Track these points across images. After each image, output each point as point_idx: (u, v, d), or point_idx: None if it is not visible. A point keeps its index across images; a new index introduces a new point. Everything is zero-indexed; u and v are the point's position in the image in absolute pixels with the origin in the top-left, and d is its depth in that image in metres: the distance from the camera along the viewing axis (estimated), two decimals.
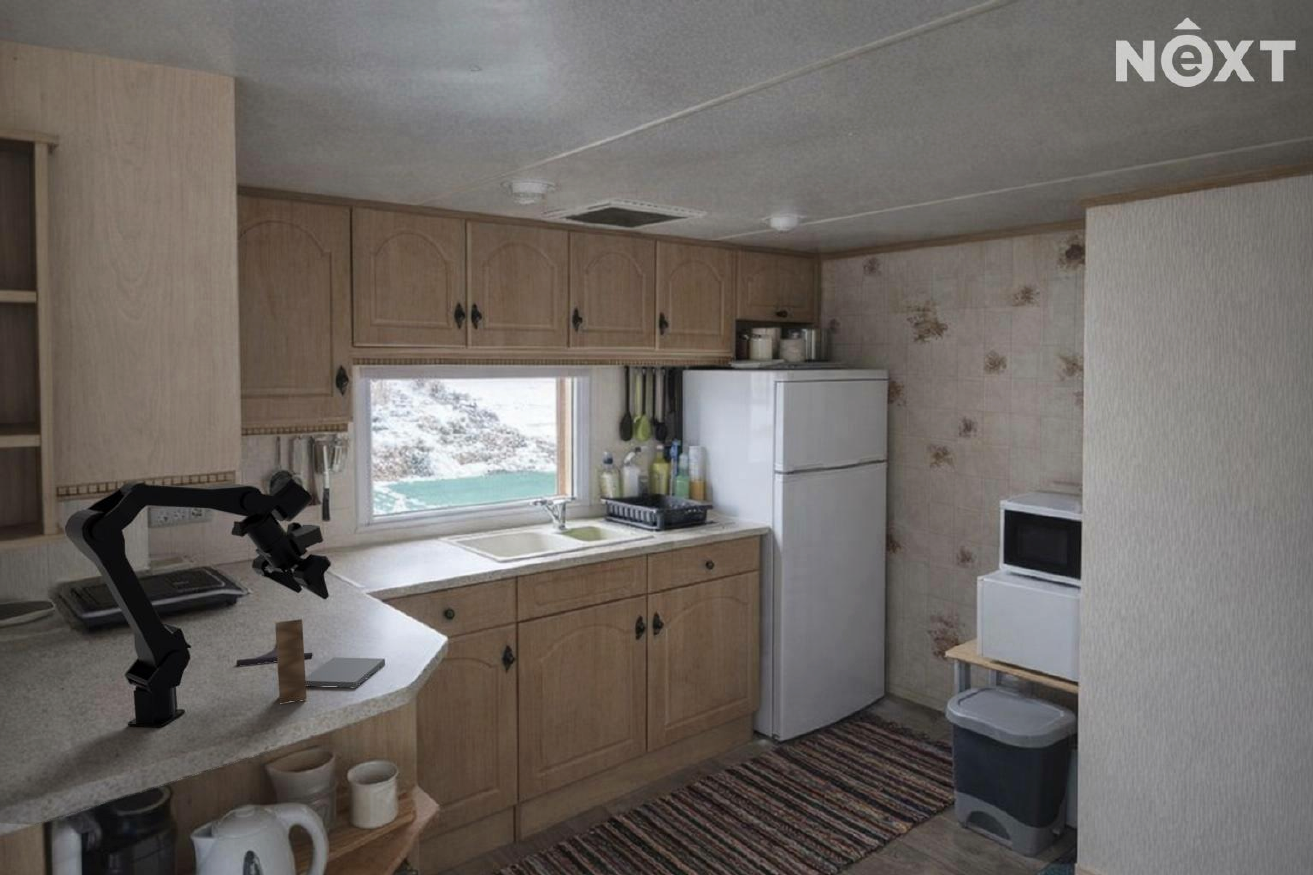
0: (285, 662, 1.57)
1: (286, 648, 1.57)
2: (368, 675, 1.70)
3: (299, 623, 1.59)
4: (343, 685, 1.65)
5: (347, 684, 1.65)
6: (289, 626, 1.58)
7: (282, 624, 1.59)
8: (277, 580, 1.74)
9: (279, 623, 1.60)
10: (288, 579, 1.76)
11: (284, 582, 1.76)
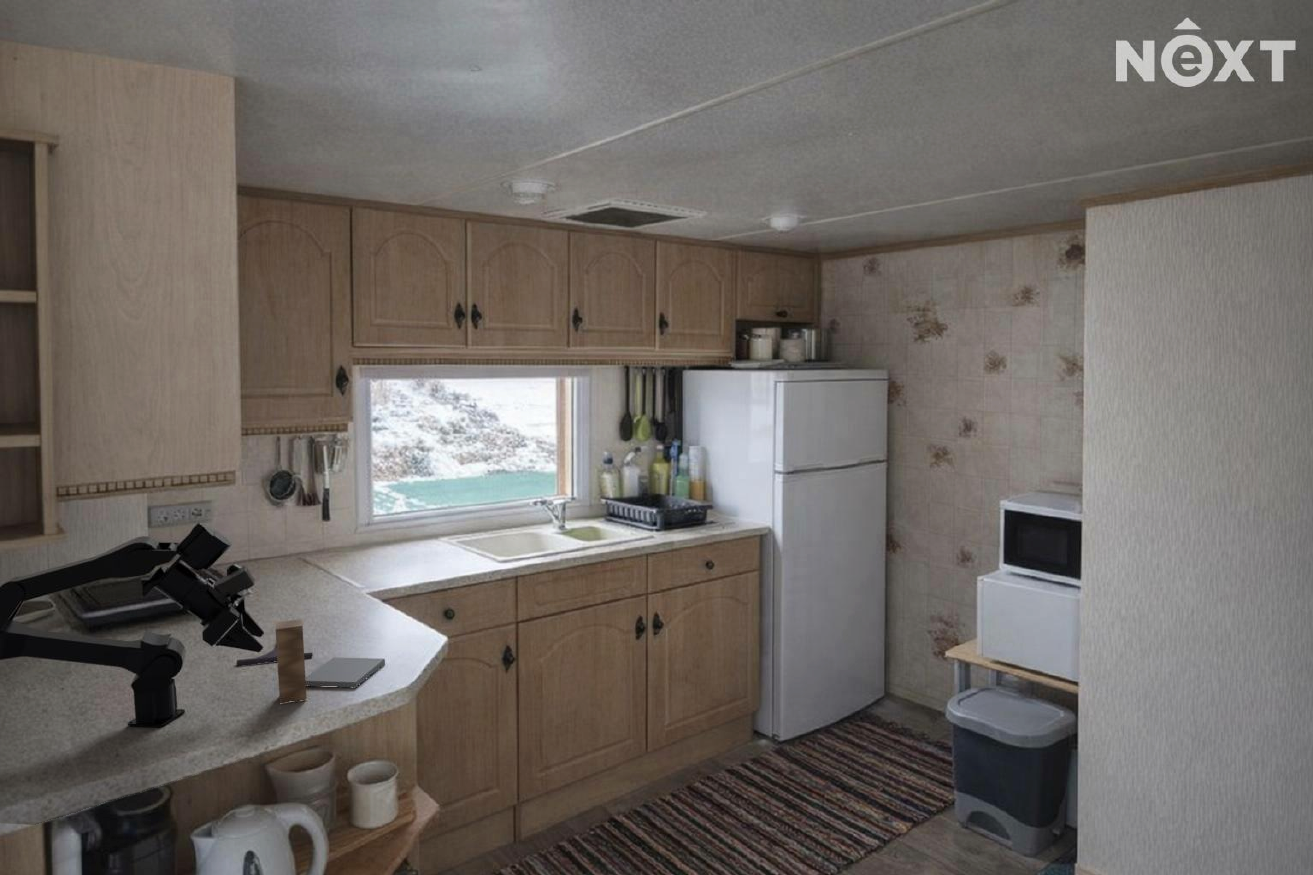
0: (285, 662, 1.57)
1: (286, 648, 1.57)
2: (368, 675, 1.70)
3: (299, 623, 1.59)
4: (343, 685, 1.65)
5: (347, 684, 1.65)
6: (289, 626, 1.58)
7: (282, 624, 1.59)
8: None
9: (279, 623, 1.60)
10: (245, 624, 1.61)
11: None
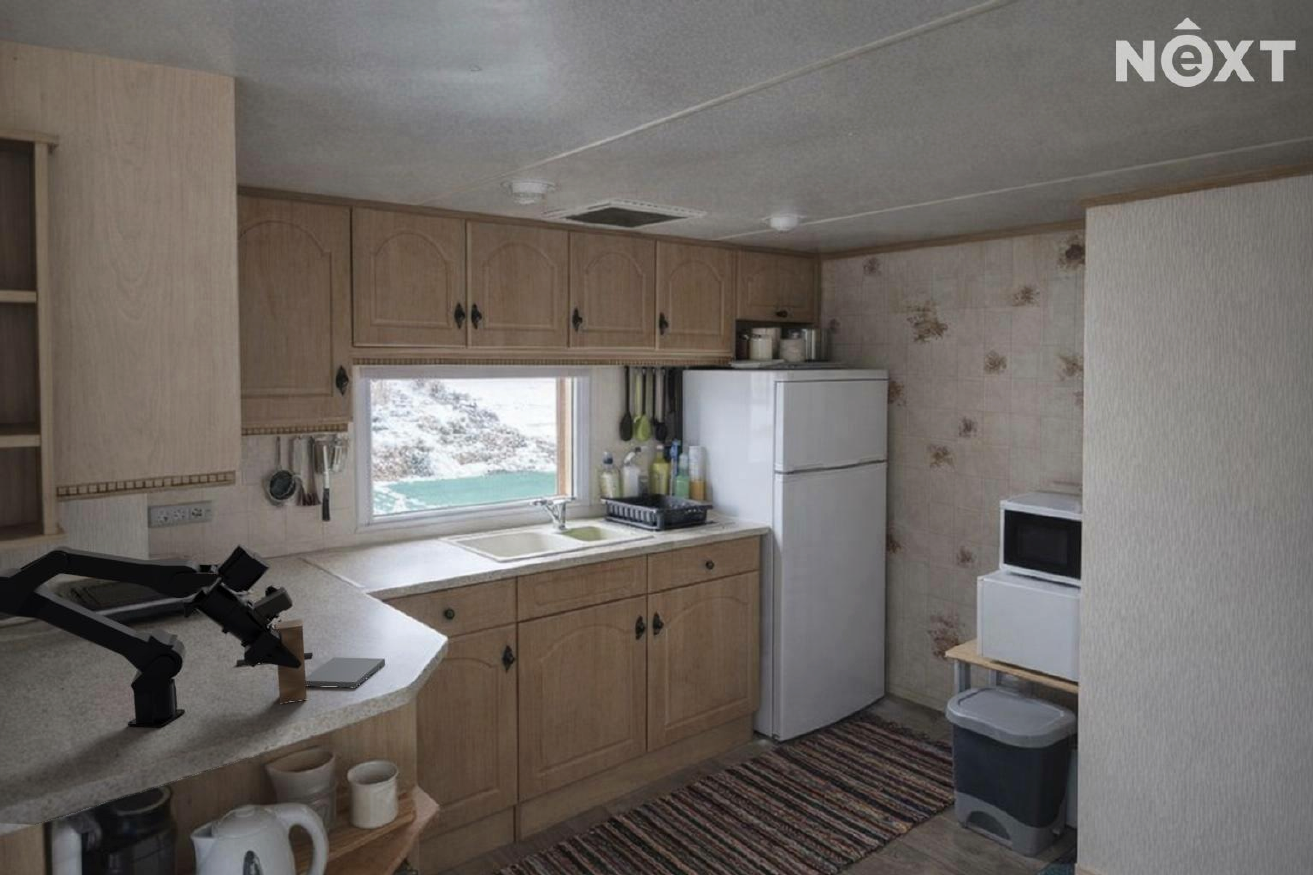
0: None
1: None
2: (368, 675, 1.70)
3: (299, 623, 1.59)
4: (343, 685, 1.65)
5: (347, 684, 1.65)
6: (289, 625, 1.58)
7: (282, 624, 1.59)
8: None
9: (279, 623, 1.60)
10: None
11: None
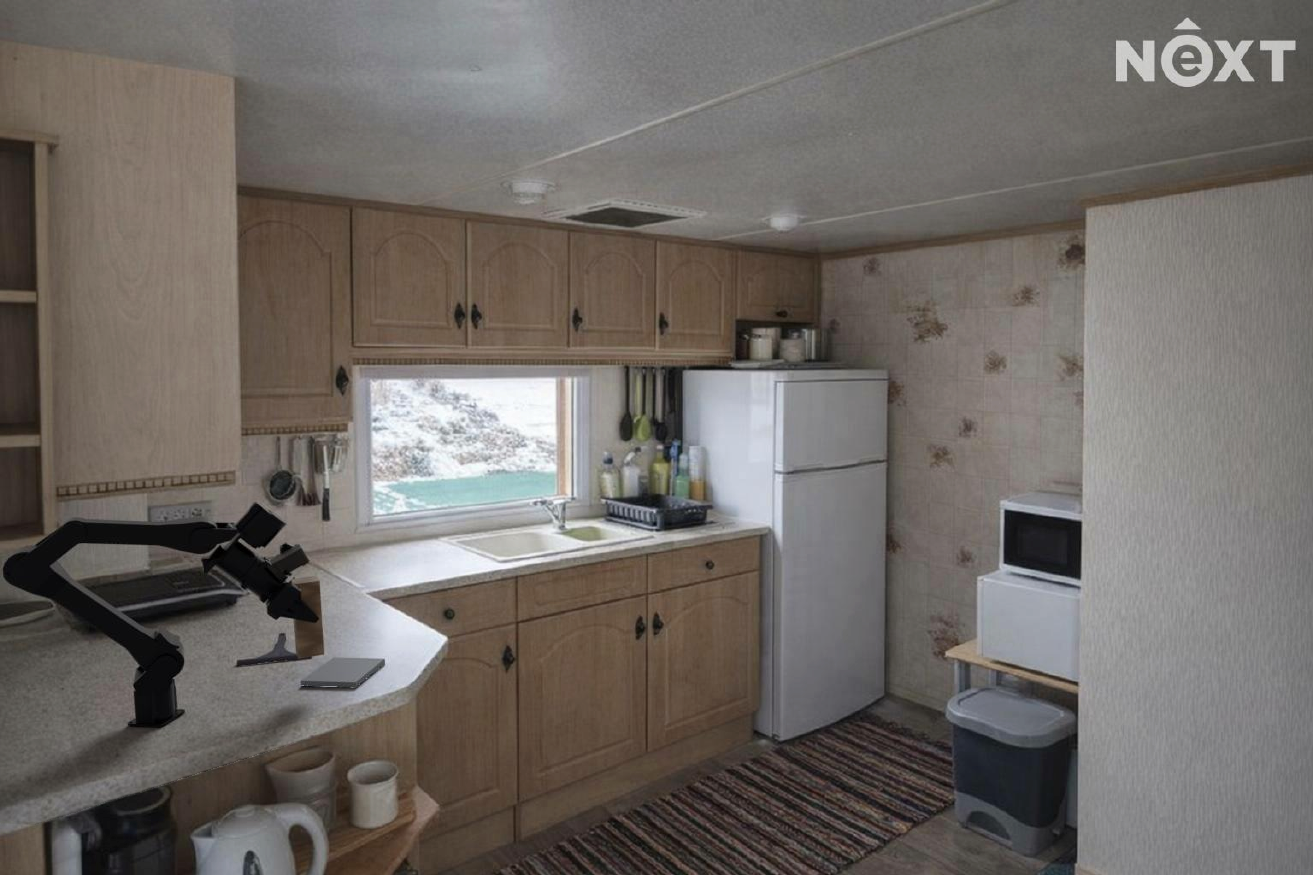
0: None
1: None
2: (368, 675, 1.70)
3: (315, 579, 1.62)
4: (343, 685, 1.65)
5: (347, 684, 1.65)
6: (306, 581, 1.60)
7: (298, 580, 1.61)
8: None
9: (295, 579, 1.62)
10: None
11: None
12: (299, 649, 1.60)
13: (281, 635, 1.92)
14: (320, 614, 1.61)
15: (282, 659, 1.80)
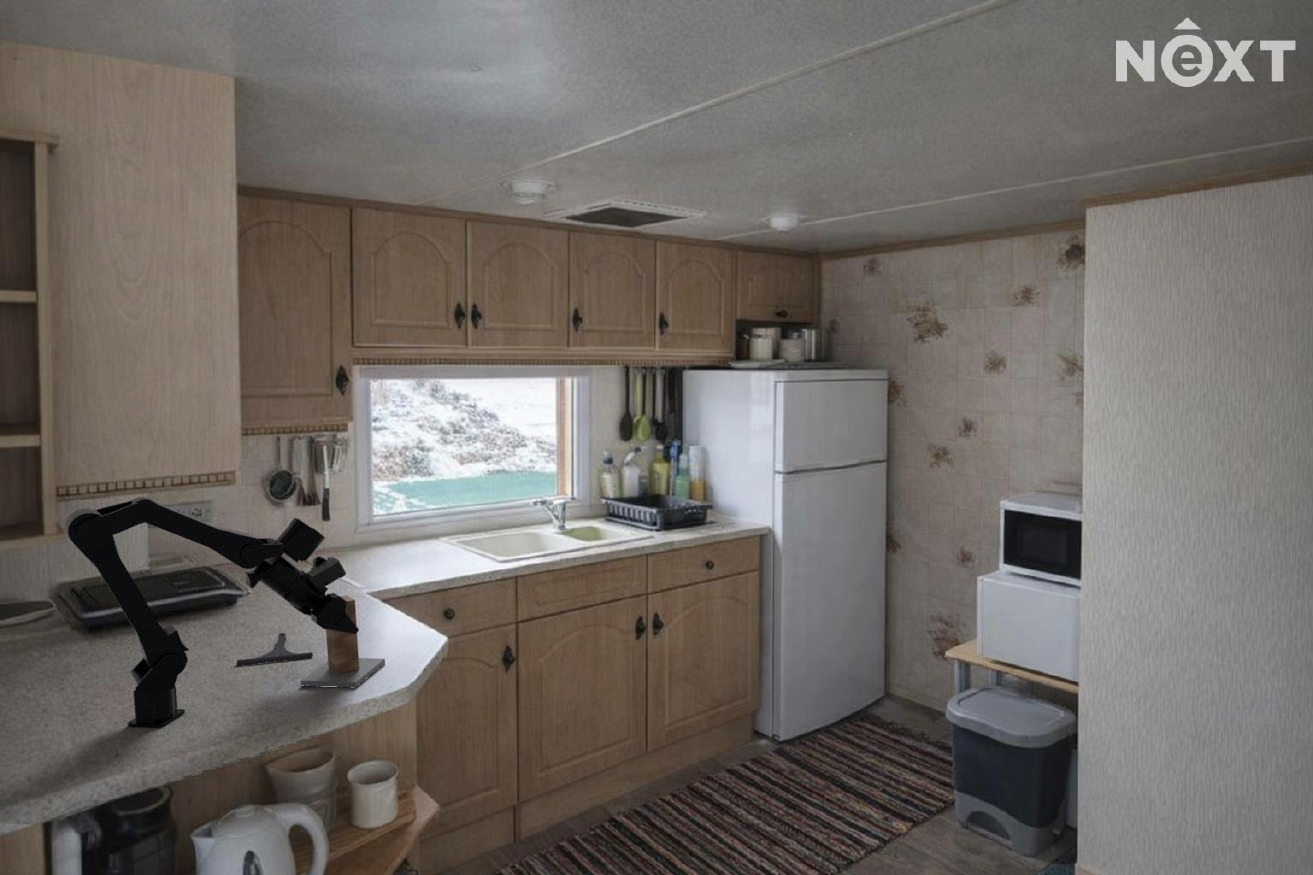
0: (340, 635, 1.69)
1: None
2: (368, 675, 1.70)
3: (349, 598, 1.71)
4: (343, 685, 1.65)
5: (347, 684, 1.65)
6: None
7: None
8: None
9: None
10: None
11: None
12: (337, 666, 1.68)
13: (281, 635, 1.92)
14: None
15: (282, 659, 1.80)
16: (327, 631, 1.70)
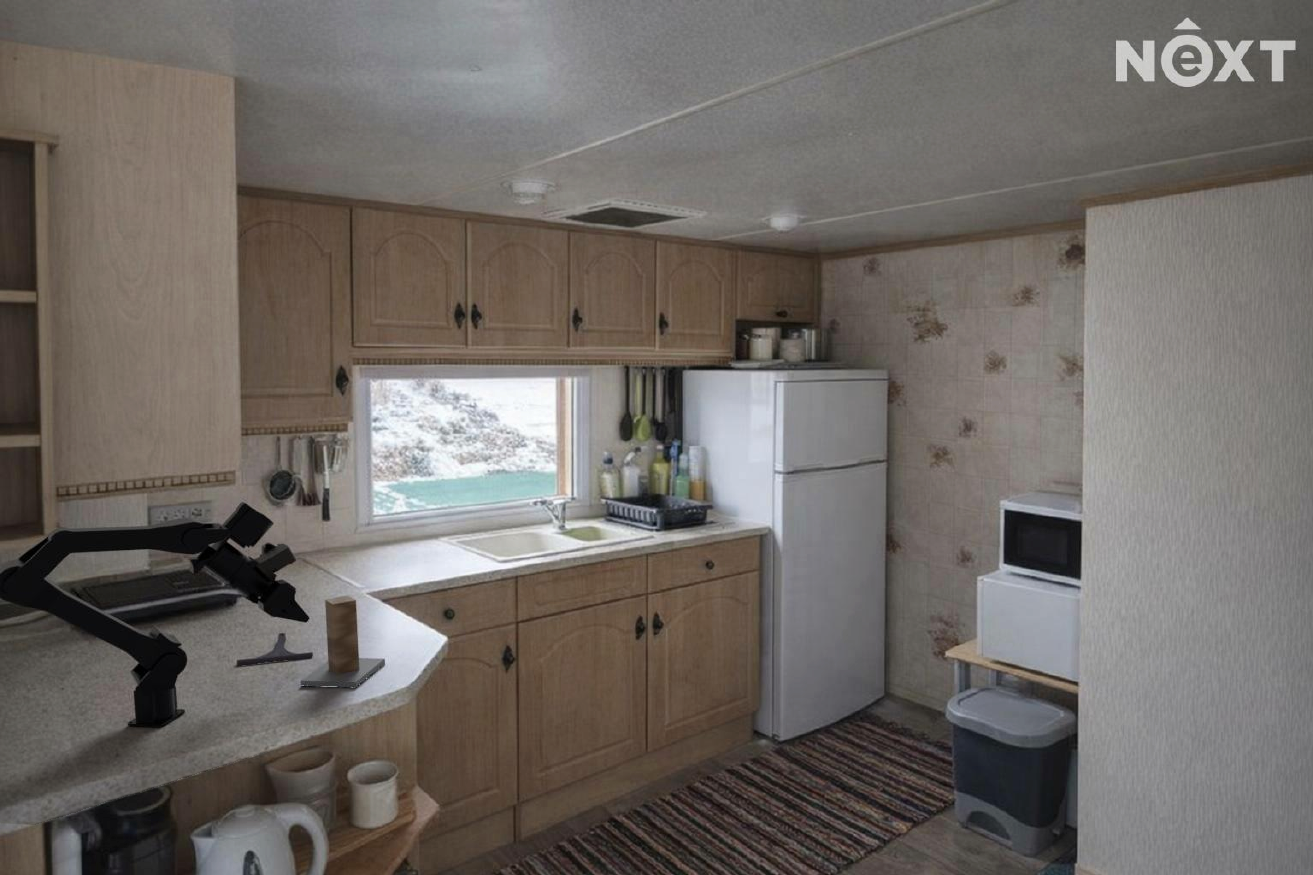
0: (341, 635, 1.69)
1: (342, 622, 1.69)
2: (368, 675, 1.70)
3: (350, 598, 1.71)
4: (343, 685, 1.65)
5: (347, 684, 1.65)
6: (342, 601, 1.69)
7: (334, 600, 1.70)
8: None
9: (330, 600, 1.70)
10: None
11: None
12: (337, 666, 1.68)
13: (281, 635, 1.92)
14: (356, 631, 1.70)
15: (282, 659, 1.80)
16: (328, 631, 1.70)
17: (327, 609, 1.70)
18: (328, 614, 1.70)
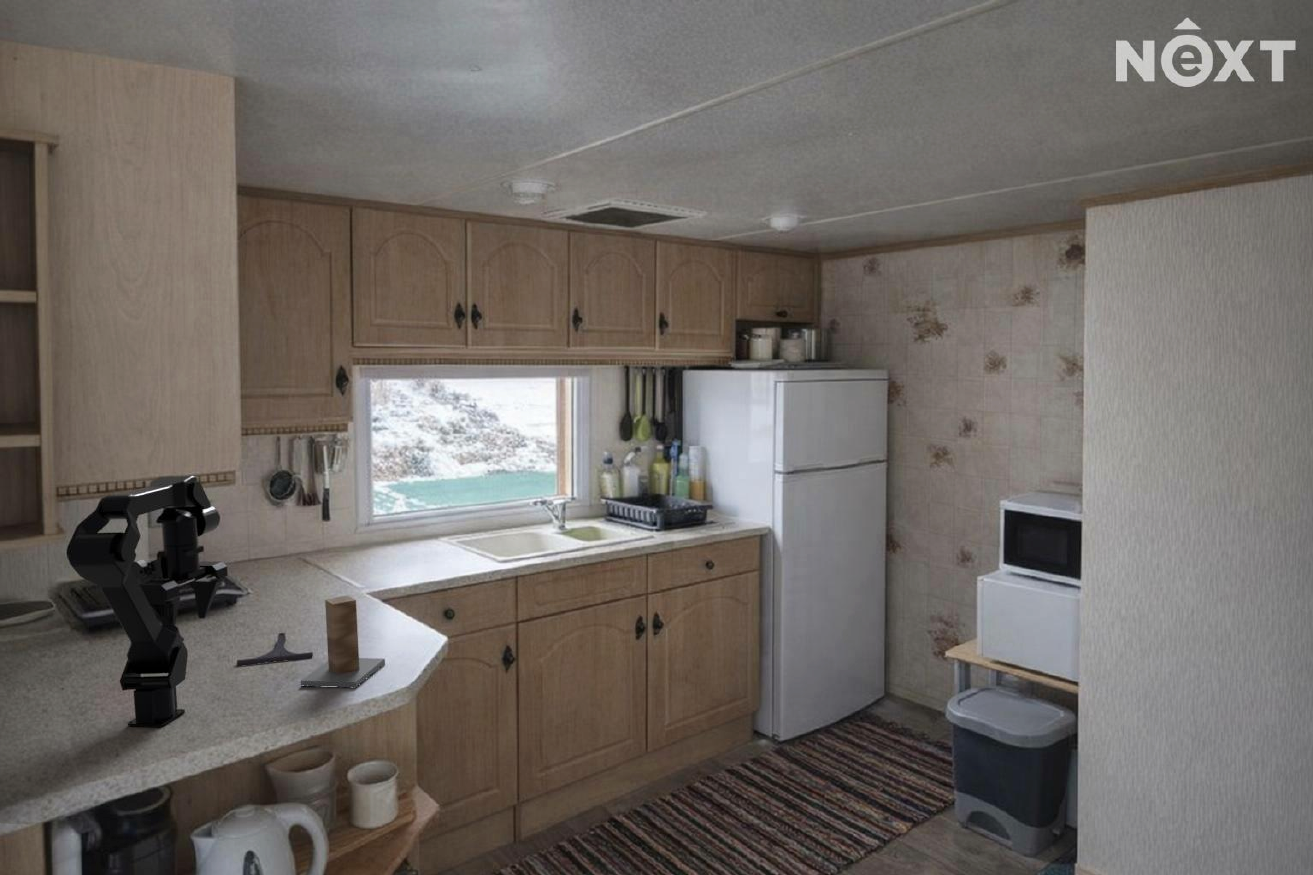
0: (341, 635, 1.69)
1: (342, 622, 1.69)
2: (368, 675, 1.70)
3: (350, 598, 1.71)
4: (343, 685, 1.65)
5: (347, 684, 1.65)
6: (342, 601, 1.69)
7: (334, 600, 1.70)
8: None
9: (330, 600, 1.70)
10: None
11: None
12: (337, 666, 1.68)
13: (281, 635, 1.92)
14: (356, 631, 1.70)
15: (282, 659, 1.80)
16: (328, 631, 1.70)
17: (327, 609, 1.70)
18: (328, 614, 1.70)
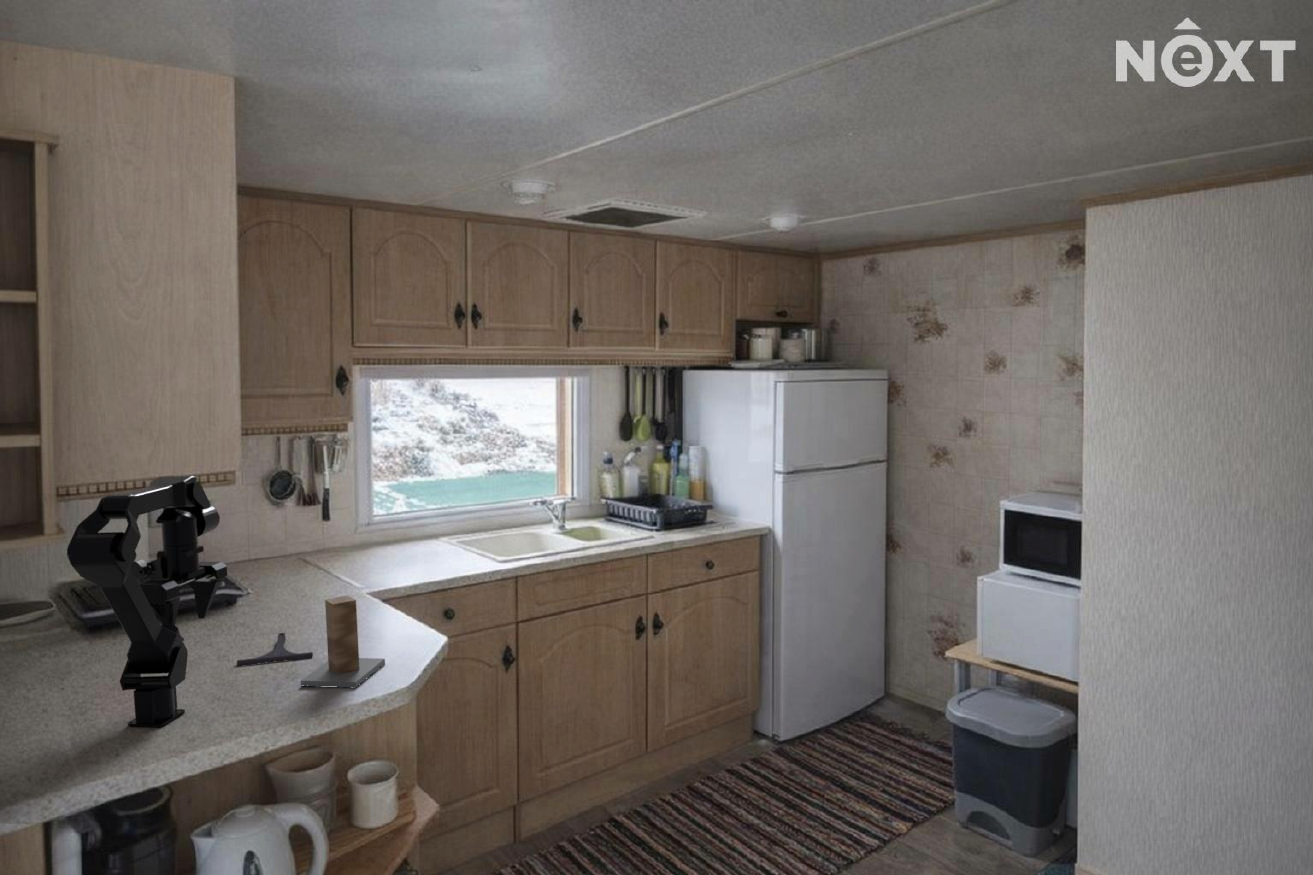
0: (341, 635, 1.69)
1: (342, 622, 1.69)
2: (368, 675, 1.70)
3: (350, 598, 1.71)
4: (343, 685, 1.65)
5: (347, 684, 1.65)
6: (342, 601, 1.69)
7: (334, 600, 1.70)
8: None
9: (330, 600, 1.70)
10: None
11: None
12: (337, 666, 1.68)
13: (281, 635, 1.92)
14: (356, 631, 1.70)
15: (282, 659, 1.80)
16: (328, 631, 1.70)
17: (327, 609, 1.70)
18: (328, 614, 1.70)
